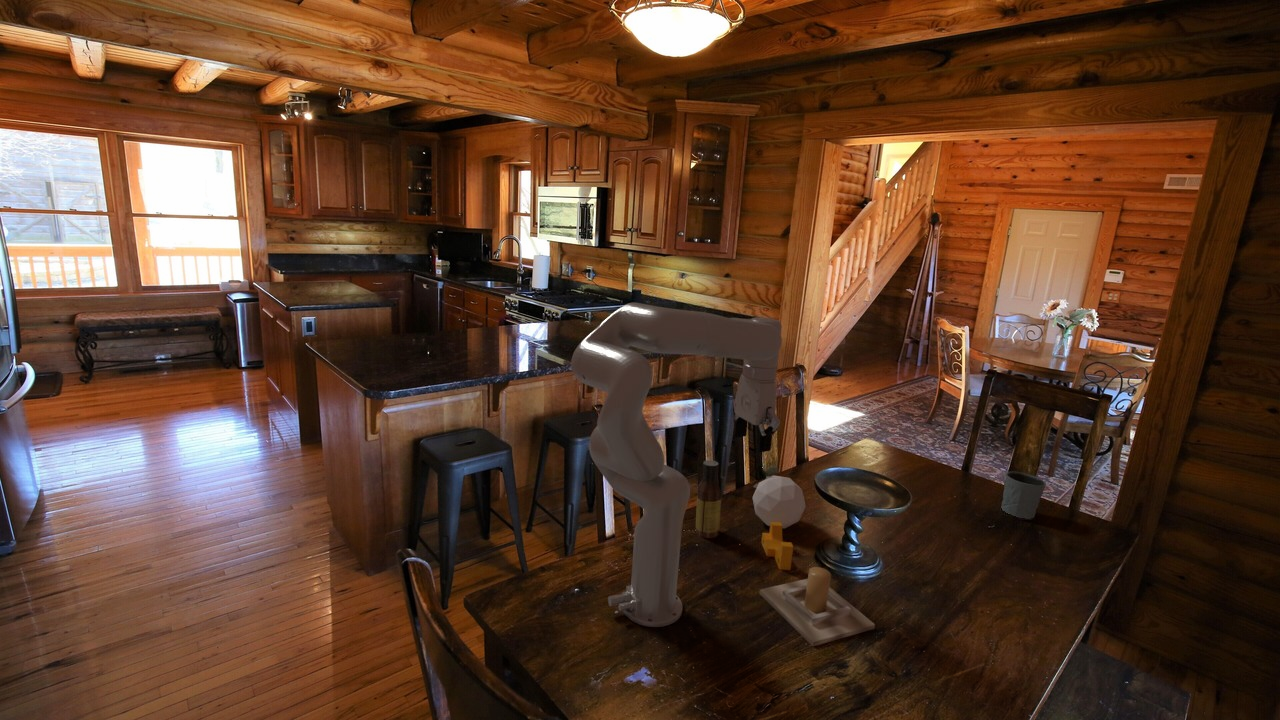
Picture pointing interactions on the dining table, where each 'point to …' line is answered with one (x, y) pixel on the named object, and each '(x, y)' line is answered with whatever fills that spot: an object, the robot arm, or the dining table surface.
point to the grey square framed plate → (812, 625)
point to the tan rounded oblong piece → (817, 589)
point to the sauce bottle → (708, 501)
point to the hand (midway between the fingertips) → (751, 443)
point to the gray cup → (1022, 494)
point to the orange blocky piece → (777, 546)
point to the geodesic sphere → (778, 501)
